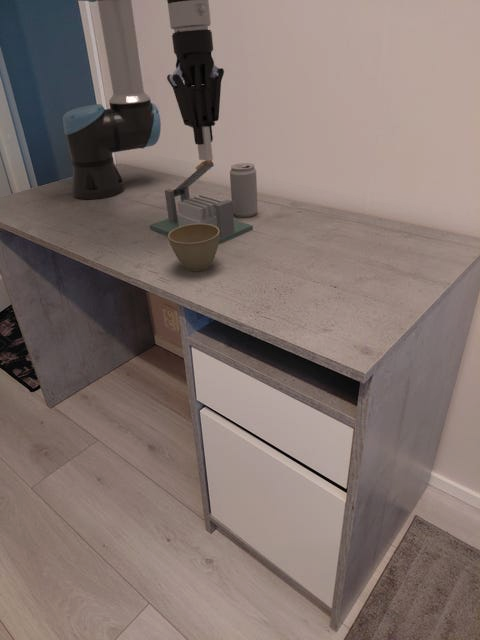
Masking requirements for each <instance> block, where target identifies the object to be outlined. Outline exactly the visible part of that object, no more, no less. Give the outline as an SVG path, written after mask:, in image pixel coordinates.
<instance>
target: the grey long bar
mask: <svg viewBox="0 0 480 640" xmlns="http://www.w3.org/2000/svg"><path fill="white" fill-rule="evenodd" d="M213 167H214V163H213V159H212V160H209V161H205V160H202V162H201V163H199V164H198V165H197V166H196V167H195V170H196V171H194V172H193V173H192V174H191V175H190V176H189V177H188V178H187V179H185V180H184V181H183V182H182V183H181V184H179V185H178V186H177V187H176V188H175V189H172V190H173V191H174V196H175V198H176V197H178V196H179V197H180V195H182V194H183V191H184V190H186V189H187V188H188V187H189V188H190V186H192V185H193V184H194V183H195V182H196V181H197V180H198V179H200V178H201V177H203V175H205V174H206V173H207V172H208V171H209V170H211V168H213Z"/></svg>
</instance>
